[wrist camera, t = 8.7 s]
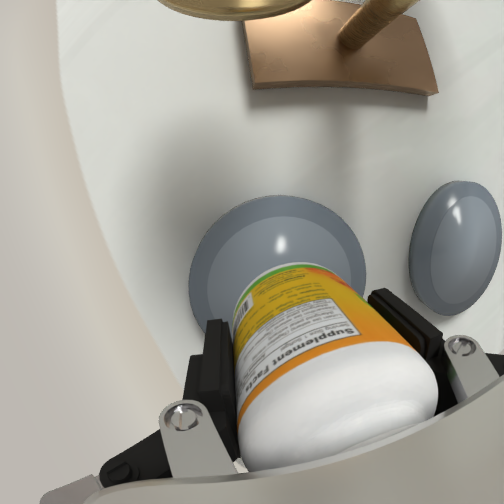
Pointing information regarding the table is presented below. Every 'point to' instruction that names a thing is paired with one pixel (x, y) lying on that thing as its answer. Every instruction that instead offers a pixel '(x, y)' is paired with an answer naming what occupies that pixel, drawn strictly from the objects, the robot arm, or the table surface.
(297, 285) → the supplement bottle
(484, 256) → the dish high side
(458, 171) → the table surface
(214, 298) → the dish low side
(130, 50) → the table surface
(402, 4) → the balance
